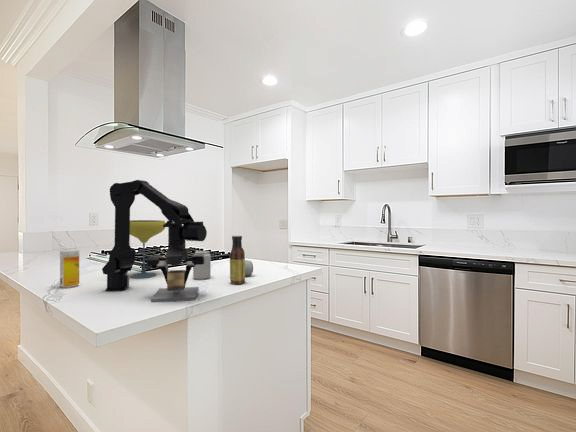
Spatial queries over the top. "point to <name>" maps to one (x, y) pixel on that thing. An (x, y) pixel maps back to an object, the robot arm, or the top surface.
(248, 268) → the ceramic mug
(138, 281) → the top surface
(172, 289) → the oak sleeve
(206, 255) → the can
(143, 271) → the cocktail glass
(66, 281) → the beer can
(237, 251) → the sauce bottle
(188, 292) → the pin board
